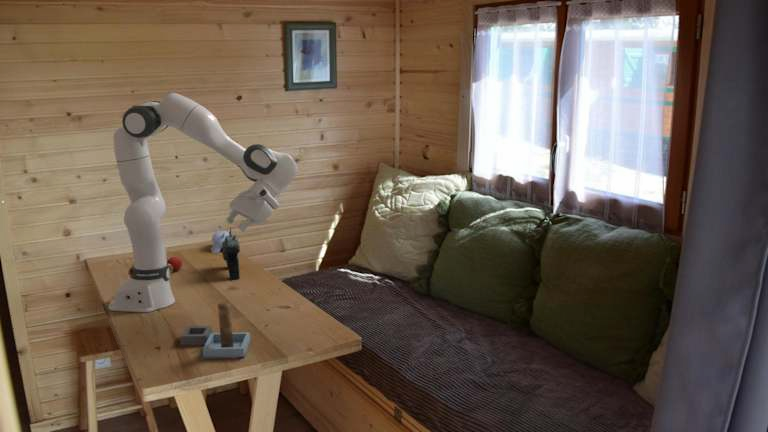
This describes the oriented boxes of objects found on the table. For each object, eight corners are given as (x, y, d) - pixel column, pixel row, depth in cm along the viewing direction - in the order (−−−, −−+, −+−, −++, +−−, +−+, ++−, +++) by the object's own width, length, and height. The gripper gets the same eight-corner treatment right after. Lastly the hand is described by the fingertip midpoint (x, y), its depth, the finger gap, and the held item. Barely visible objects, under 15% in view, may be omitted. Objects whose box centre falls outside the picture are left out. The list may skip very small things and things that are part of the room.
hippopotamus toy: (232, 243, 330) (231, 224, 328) (237, 252, 316) (236, 231, 314) (209, 246, 326) (207, 226, 324) (213, 255, 313) (211, 234, 311)
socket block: (181, 345, 218) (180, 336, 217) (187, 335, 226) (186, 326, 225) (207, 344, 218) (206, 335, 217) (212, 334, 226) (211, 325, 225)
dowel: (220, 350, 213) (216, 306, 209) (222, 345, 216) (219, 302, 213) (232, 350, 213) (229, 306, 209) (234, 345, 216) (231, 302, 213)
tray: (203, 358, 209) (202, 349, 208) (211, 342, 220) (211, 333, 219) (244, 357, 209) (243, 348, 208) (250, 341, 220) (250, 332, 220)
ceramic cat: (242, 280, 278) (239, 231, 273) (225, 282, 276) (222, 232, 271) (238, 266, 296) (234, 219, 292) (222, 267, 294) (218, 221, 290)
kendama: (144, 284, 279) (186, 269, 289) (139, 269, 278) (182, 254, 288) (138, 283, 285) (179, 268, 296) (133, 268, 284) (175, 253, 295)
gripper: (242, 182, 242) (214, 212, 239) (270, 194, 227) (241, 227, 223) (253, 194, 246) (226, 224, 243) (282, 207, 230) (253, 239, 227)
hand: (234, 225), depth 233 cm, fingers open, 8 cm apart
